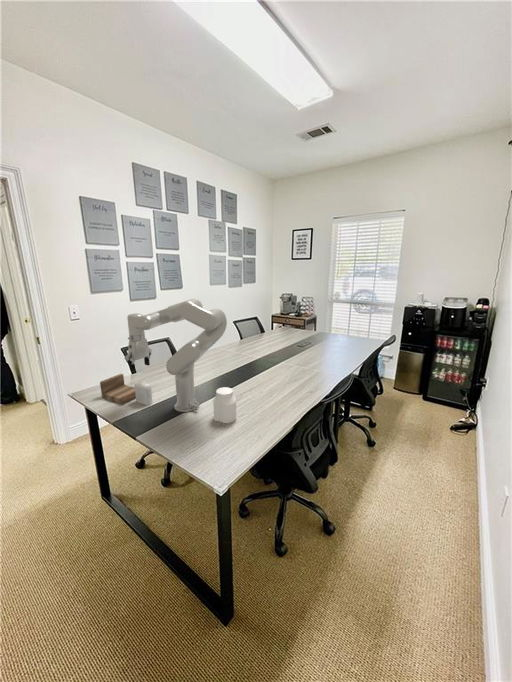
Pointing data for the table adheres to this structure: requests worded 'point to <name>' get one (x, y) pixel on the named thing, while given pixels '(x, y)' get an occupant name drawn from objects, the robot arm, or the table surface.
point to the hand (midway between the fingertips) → (140, 367)
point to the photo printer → (143, 393)
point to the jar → (224, 405)
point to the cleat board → (117, 390)
